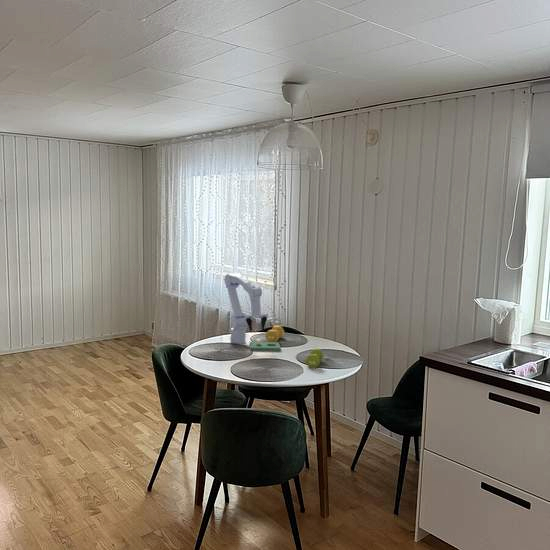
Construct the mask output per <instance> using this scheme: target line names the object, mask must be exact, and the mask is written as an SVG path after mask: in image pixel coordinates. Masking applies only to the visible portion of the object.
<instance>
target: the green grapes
mask: <svg viewBox="0 0 550 550" xmlns="http://www.w3.org/2000/svg"><path fill="white" fill-rule="evenodd" d="M323 358H324V353H323V350H322V349H320V348H312V350H311V351H310V353H309V355H308V356H307V357H306V358H305V363H306V366H307V367H308V368H309V369H317V368H318V366H319V365H320V363H321V361H322V360H323Z"/></svg>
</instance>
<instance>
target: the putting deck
mask: <svg viewBox="0 0 550 550" xmlns="http://www.w3.org/2000/svg"><path fill="white" fill-rule="evenodd" d="M249 349H250V352H281V351H282V347H281V345H280V343H279V342H278V341H277V342H267V341H261V344H260V345H257V344H256V341H250V342H249Z"/></svg>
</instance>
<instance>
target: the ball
mask: <svg viewBox="0 0 550 550" xmlns="http://www.w3.org/2000/svg"><path fill="white" fill-rule="evenodd" d="M255 342H256V344H257V345H260V344H261V342H262V339H260V338H258V339H256V340H255Z"/></svg>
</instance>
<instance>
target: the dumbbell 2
mask: <svg viewBox="0 0 550 550" xmlns="http://www.w3.org/2000/svg"><path fill="white" fill-rule="evenodd" d="M284 334H285V330H284V328H283V326H281V325H273V327H272V328H271V329H269V330H267V332H266V333H265V338H264V339H265V340H266V342H278V340H279V339H281V338H282V337H283V336H284Z"/></svg>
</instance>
